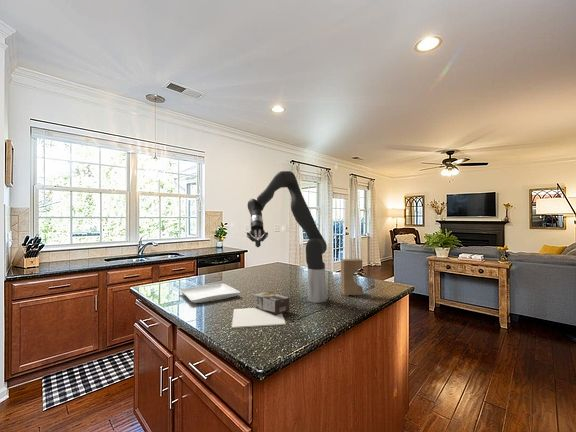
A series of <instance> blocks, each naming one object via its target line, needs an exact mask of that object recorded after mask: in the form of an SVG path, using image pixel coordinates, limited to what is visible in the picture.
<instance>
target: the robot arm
mask: <svg viewBox="0 0 576 432" xmlns="http://www.w3.org/2000/svg"><path fill="white" fill-rule="evenodd" d="M282 188H287V189H288V191H289V194H290V197H291V199H290V200H291V201H290V210H291V212H292V215H293V217H294V219H295V221H296V223H297V224H298V225H299V226H300V227H301V229H302V230H303V231H304V232H305V234H306V236H307V239H308V241H307V242H306V244H305V261H306V265H307V301H308V302H310V303H316V304H321V303H324V302H327V283H326V264H325V261H323V254H325V252H326V251H327V242H326V240H325V238H324V237H323V235H322V233H321V232H320V230H319V227H318V226H317V223H316V222H315V220H314V218H313V215H312V213H311V211H310V208H309V207H308V204H307V203H306V200H305V199H304V196H303V193H302V191H301V189H300V185H299V183H298V179H297V177H296V175H295V174H294V172H293V171H291V170H284V171H283V170H282V171H278V172H277V173H276V174H275V175H274V176H273V178H272V179H271V181H270V182H269V183H268V185H267V186H266V188H265V189H264V190H263V191H261V192H260V193H259V194H258V195H257V197H256V199H255V198H250V199H249V200H248V202H247V210H248V212H249V215H250V231H249V232H246V237H247V238H248V239H249V240H250V241H251V242H254V244H255V247H256V248H260V247H261V242H264V241H265V240H266V239H267V238H268V237H269V232H268V231H265V230H264V219H263V213H262V212H263V211H264V208H265V207H266V205H267V204H268V203H269V202H270V201H271V200H272V199H273V197H274V195H275V192H277V191H278V190H279V189H282Z"/></svg>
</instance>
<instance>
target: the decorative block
mask: <svg viewBox="0 0 576 432" xmlns="http://www.w3.org/2000/svg"><path fill="white" fill-rule="evenodd" d="M362 269H363V259H361V258H342V259H340V292H341V295H343V297H348V296H349V295H353V296H363V294H364V293H363V291H364V289H363V288H364V287H363V286H362V285H360V284H358V283H356V282H355V280H354V275H355V273H356V272H357V271H359V270H362Z"/></svg>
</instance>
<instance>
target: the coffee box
mask: <svg viewBox="0 0 576 432" xmlns="http://www.w3.org/2000/svg"><path fill="white" fill-rule="evenodd" d="M253 308H258V309H261V310H263V311H266V312H268V313H271V314H273V315H278V314H281V313H282V314H284V313H287V312H290V298H289V296H284V295H282V294H277V293H275V292H270V291H265V292H260V293H254V294H253Z"/></svg>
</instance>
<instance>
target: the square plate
mask: <svg viewBox="0 0 576 432" xmlns="http://www.w3.org/2000/svg"><path fill="white" fill-rule="evenodd" d="M178 291H179V292H180V293H181V294H183V296H185V297H187V299H188V300H189V301H190V302H191V303H193V304H204V303H208V302H209V301H210V302H215V301H220V300H225V299H230V298H234V297H236V296H238V295H240V294H241V291H240V290H238V289H235V288H234V287H232V286H231V285H228V284H225V283H214V284H205V285H199V286H198V285H196V286H193V287H187V288H181V289H178ZM203 302H204V303H203ZM210 302H209V303H210Z"/></svg>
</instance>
